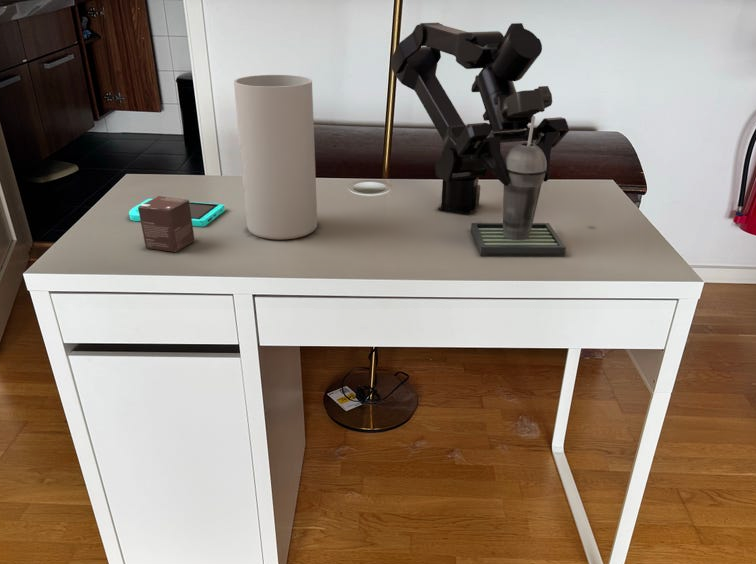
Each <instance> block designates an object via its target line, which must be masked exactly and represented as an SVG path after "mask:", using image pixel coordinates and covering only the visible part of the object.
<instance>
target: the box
mask: <svg viewBox="0 0 756 564" xmlns="http://www.w3.org/2000/svg"><path fill="white" fill-rule="evenodd" d="M151 199H152V200H150V201H148V202H146V203H144V204H142V205H140V206H139V207H138V210H139V215H140V220H141V221H140V225H141V230H142V235H143V240H144V241H143V242H144V246H145V249H150V250H159V251H167V252H173V253H178V251H180V250H182V249H184V248H185V247H187V246H188V245H190V244H191V243H193V242H194V241H195V240H196V238H195V234H194V226H193V225H192V218H191V211H190V206H189V202H190V200H189V199H185V198H178V197H177V198H176V197H169V196H160V195H158V196H156V197H154V198H151Z"/></svg>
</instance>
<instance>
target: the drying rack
mask: <svg viewBox="0 0 756 564" xmlns="http://www.w3.org/2000/svg"><path fill="white" fill-rule="evenodd" d="M470 225H471V226H470V232H471V235H472V237H473V240H474V243H475V245H476V248H477V250H478V253H479V256H480V257H565V255H566V249H567V247H566V245H565V243H563V240H561V239H560V237H559V235H558V233H556V231H555V230H554V228H553V226H552V225H551V224H550V223H549V222H533V224H532V228H531V231H530V234H529V238H527V239H525V240H512V239H508V238H506V237H504V236H503V222H471V224H470Z"/></svg>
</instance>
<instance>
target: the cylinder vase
mask: <svg viewBox="0 0 756 564" xmlns="http://www.w3.org/2000/svg"><path fill="white" fill-rule="evenodd" d="M233 88H234V97H235V98H234V99H235V100H234V101H235V109H236V119H237V120H236V121H237V130H238V143H239V152H240V164H241V174H242V185H243V197H244V207H245V208H244V209H245V218H246V227H247V230H248V231H249V232H250V233H251V234H252V235H254V236H255V237H259V238H262V239H266V240H276V241H277V240H278V241H280V240H282V241H283V240H291V239H299V238H302V237H305V236H308V235H311V233H313V232H314V231H315V230H316V229H317V227H318V204H317V202H318V201H317V178H316V177H317V176H316V173H317V172H316V151H315V150H316V149H315V148H316V147H315V125H314V124H315V123H314V100H313V99H314V97H313V80H312V79H311V78H310V77H306V76H301V75H292V74H258V75H247V76H241V77H238V78H236V79H233Z"/></svg>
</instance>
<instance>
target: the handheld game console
mask: <svg viewBox="0 0 756 564" xmlns="http://www.w3.org/2000/svg"><path fill="white" fill-rule="evenodd" d="M152 199H153V198H147V199H145V200H143V201H142V202H141V203H139V204H137V205H136V206H134V207H132V208H131V209H130V210H129V212H128V215H129V216H128V217H129V219H130V220H131V221H133V222H141V220H140V215H139V210H138V207H139V206H140V205H142V204H144V203H146V202H148V201H150V200H152ZM189 206H190V211H191V218H192V225H193V227H199V228H200V227H201V228H203V227H206V226H208V225H209V224H210V223H211V222H213V221H214V220H215V219H216V218H218V217H219V216H221V215H222V214H223V213H224V212H225V211H226V208H225V204H224V203H223V204H222V203H212V202H211V203H208V202H198V201H189Z"/></svg>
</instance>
